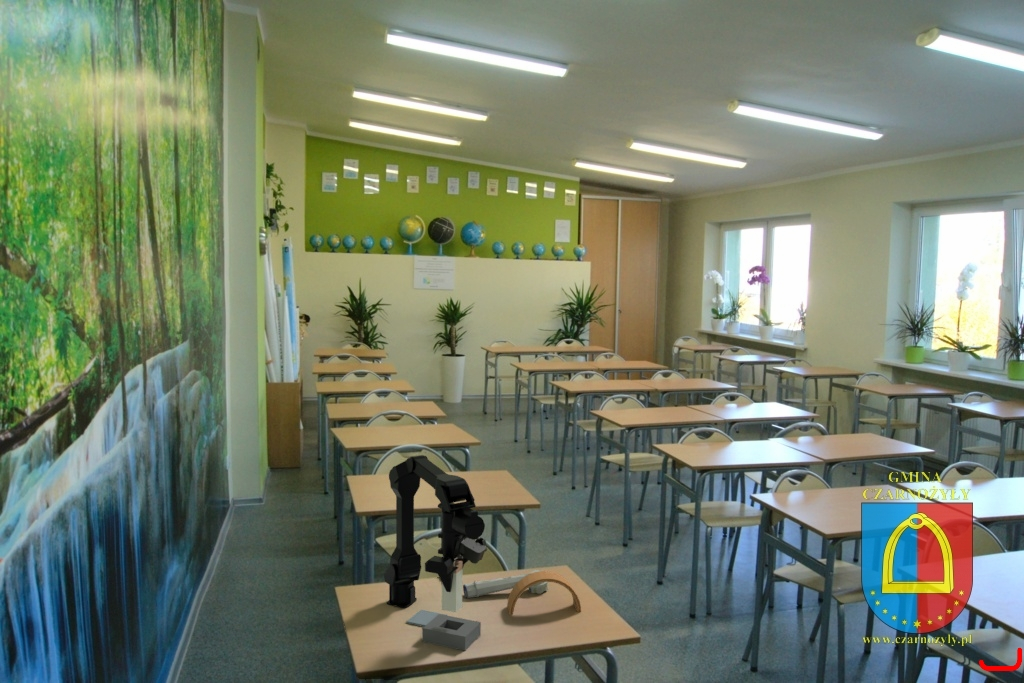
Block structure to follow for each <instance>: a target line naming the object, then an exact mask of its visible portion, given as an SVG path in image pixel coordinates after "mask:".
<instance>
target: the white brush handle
mask: <svg viewBox="0 0 1024 683" xmlns="http://www.w3.org/2000/svg"><path fill="white" fill-rule="evenodd" d="M538 571H542V570H541V569H536V570H532V571H530V572H529V573H526V574H525V573H524V574H520V575H519V574H518V575H514V576H506V577H501V578H494V579H493V578H492V579H488V580H481V581H476V580H473V582H470V583H469V582H468V583H466V584H462V592H463V596H464V598H465V599H473V598H479V597H481V596H486V595H489V594H493V593H498V592H503V591H507V590H512V589H513V587H514V586H515V585H516V584H517V583H518V582H519V581H520V580H521V579H522V578H524V577H525V576H527V575H529V574H531V573H534V572H538ZM548 584H549V582H541V583H537V584H534V585H532V586H530V587H529V588H528V592H529V593H531V594H538V595H539V594H543V593H544V592H547V591H548V590H549V589H548Z"/></svg>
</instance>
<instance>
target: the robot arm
mask: <svg viewBox="0 0 1024 683" xmlns="http://www.w3.org/2000/svg"><path fill="white" fill-rule="evenodd" d="M421 479H422V481H424V482H425V483H426V484H428V485H429V486H431V487H432V488H433V489H434V496H435V497H436V498H437V500H439V503H438V504H437V508H439V509H441V512H440V513H441V519H440V520H441V522H440V523H441V525H440V526H441V531H440V532H439V533H438V534H437V538H438V539H441V541H440V545H441V546H440V548H439V549H438V550H437V554H438V555H433V556H432V557H431V558H429V559H428V560H427V561H426V562H424V572H426V573H432V574H436V575H438V577H439V579H440V581H441V584H442V583H443V585H444V587H445V589H446V591H447V592H451V588H452V581H453V573H454V572H455V571H456V570H457V569H458V568H459V567H455V560H459V561H463V569H462V571H463V570H464V567H465V565H466V563H468V562H470V563H471V564H474V565H476V564H478V563H479V562H480V561H481V560H483V558H484V555H485V553H486V552H487V551H488V548H487V540H486V538H484V537H482V535H483V534H484V531H485V528H486V524H485V521H484V519H483V518H482V517H481V516H479V511H478V510H476V509H475V508H476V503H475V497H474V496H473V493H472V491H471V489H470V486H469V484H468V482H467V480H466V479H465V478H463V477H461V476H459V475H456V474H454V475H453V474H448V473H446V472H445V471H444V470H443V469H441V468H440V467H439V466H437V465H436V464H434V462H432V461H431V460H429V458H428V457H427V455H424V454H421V455H414V456H413V455H412V456H410V457H408V458H407V459H405V460H404V461H402V462H400V463H398V464H397V465H394V466H392V467H391V469H390V470H389V473H388V480H389V484H390V485H389V486H390V489H391V490H392V492H393V493H394V495H395V499H396V503H395V505H396V506H395V507H396V508H395V511H396V514H395V515H396V516H395V517H396V519H395V522H396V523H395V524H396V525H395V528H396V529H395V530H396V531H395V533H396V537H395V538H396V539H395V540H396V541H395V544H396V545H395V546H396V547H395V548H394V550H393V551H392V553H391V555H390V560H389V566H388V567H387V568H386V570H385V572H384V573H383V578H384V582H385V583H386V584H387V585H388V586H389V588H388V589H389V590H388V592H389V593H388V594H389V596H388V597H389V598H388V600H387V601H386V602H385V604H386V605H389V606H395V607H397V608H398V607H399V608H407V607H409V606H411V605H412V604H413V603H414V602H416V601H417V599H418V598H417V597H416V586H415V581H419V580H420V574H421V570H422V562H421V561H422V556H421V554H419V553H418V552H417V550H416V548H415V496H416V494H417V492H418V490H419V488H420V487H421V486H420V485H421ZM473 508H474V509H473ZM439 555H442V556H439Z"/></svg>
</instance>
